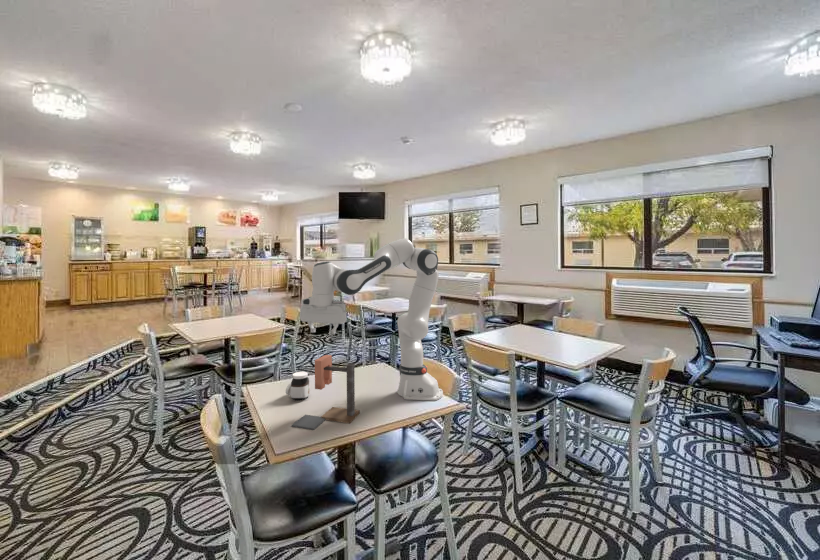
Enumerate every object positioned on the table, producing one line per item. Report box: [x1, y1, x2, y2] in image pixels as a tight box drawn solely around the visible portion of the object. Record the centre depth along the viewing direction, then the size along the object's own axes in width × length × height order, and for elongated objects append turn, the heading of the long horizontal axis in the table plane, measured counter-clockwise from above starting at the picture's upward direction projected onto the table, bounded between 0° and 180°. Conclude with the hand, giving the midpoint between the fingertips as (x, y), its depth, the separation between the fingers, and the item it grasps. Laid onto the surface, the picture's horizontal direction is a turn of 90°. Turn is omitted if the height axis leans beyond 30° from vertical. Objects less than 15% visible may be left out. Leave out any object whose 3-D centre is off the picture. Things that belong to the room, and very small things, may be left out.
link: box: [314, 354, 333, 391], centre depth 152 cm, size 3×9×12 cm, turn 164°
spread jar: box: [285, 371, 310, 402], centre depth 171 cm, size 12×11×12 cm
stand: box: [320, 363, 361, 424], centre depth 151 cm, size 17×10×22 cm, turn 74°
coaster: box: [291, 414, 326, 431], centre depth 145 cm, size 10×10×1 cm
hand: (323, 333), depth 151 cm, fingers open, 8 cm apart
